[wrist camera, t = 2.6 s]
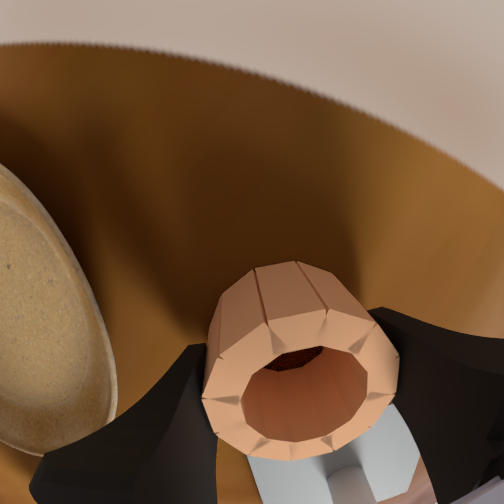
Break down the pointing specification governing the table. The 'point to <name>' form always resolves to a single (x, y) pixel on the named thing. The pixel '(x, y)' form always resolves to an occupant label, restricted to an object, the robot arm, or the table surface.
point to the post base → (345, 469)
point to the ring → (299, 379)
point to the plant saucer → (47, 333)
